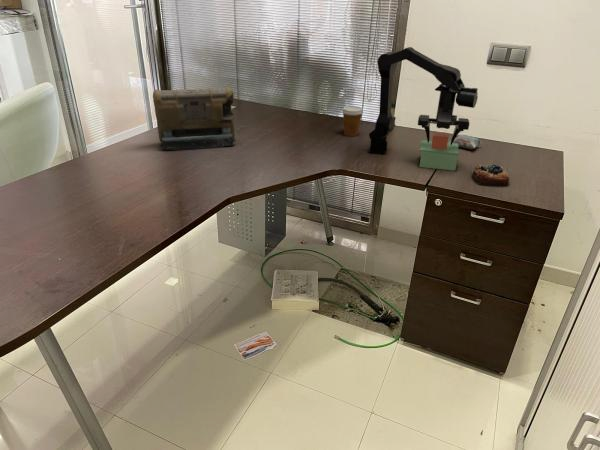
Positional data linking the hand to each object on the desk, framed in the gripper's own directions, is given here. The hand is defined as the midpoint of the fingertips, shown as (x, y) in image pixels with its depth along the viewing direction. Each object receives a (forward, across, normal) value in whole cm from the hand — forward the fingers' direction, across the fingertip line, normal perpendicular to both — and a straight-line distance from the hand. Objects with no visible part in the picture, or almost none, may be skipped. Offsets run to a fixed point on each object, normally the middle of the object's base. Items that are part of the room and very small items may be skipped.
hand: (439, 143), depth 178 cm
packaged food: (+8, +12, +23) cm, 27 cm away
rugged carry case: (+8, -100, -9) cm, 101 cm away
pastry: (+8, +20, -11) cm, 24 cm away
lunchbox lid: (+2, 0, 0) cm, 2 cm away
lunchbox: (+8, 0, 0) cm, 8 cm away
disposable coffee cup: (+8, -40, +26) cm, 48 cm away
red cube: (+1, 0, 0) cm, 1 cm away
